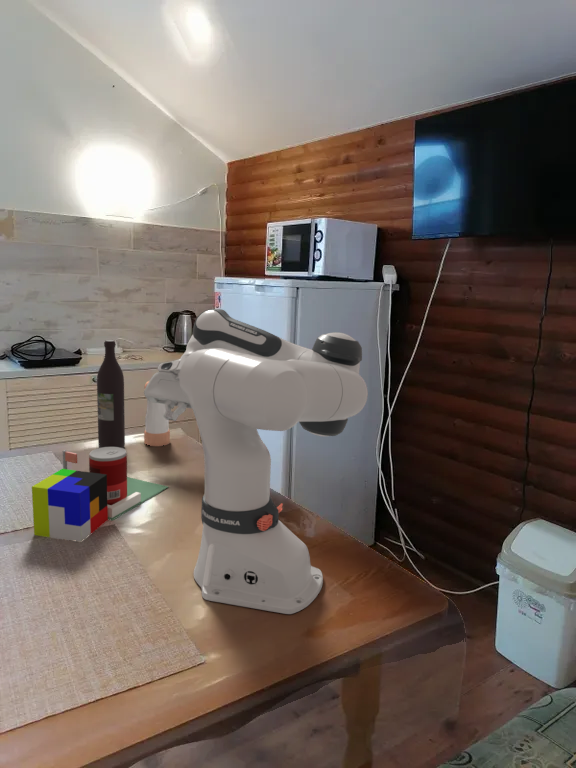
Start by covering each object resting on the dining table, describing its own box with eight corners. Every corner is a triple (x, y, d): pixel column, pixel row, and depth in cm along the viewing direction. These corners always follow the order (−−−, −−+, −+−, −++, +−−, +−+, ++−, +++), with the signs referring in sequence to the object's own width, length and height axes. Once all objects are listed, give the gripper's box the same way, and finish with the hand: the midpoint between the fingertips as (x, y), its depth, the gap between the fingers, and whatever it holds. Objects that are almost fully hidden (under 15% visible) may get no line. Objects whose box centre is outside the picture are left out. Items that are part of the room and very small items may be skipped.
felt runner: (168, 487, 140) (168, 486, 140) (111, 520, 122) (111, 519, 122) (120, 476, 145) (120, 475, 145) (59, 506, 127) (59, 505, 127)
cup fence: (140, 501, 131) (140, 449, 128) (112, 517, 122) (111, 462, 120) (92, 489, 136) (91, 439, 133) (62, 504, 127) (60, 451, 125)
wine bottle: (96, 444, 167) (93, 339, 160) (122, 442, 170) (120, 338, 164) (100, 452, 161) (98, 343, 154) (127, 449, 164) (125, 342, 157)
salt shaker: (146, 447, 167) (145, 380, 163) (142, 439, 173) (142, 375, 169) (172, 445, 169) (172, 379, 165) (167, 437, 176) (167, 374, 172)
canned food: (133, 495, 134) (133, 448, 131) (115, 509, 126) (114, 460, 124) (103, 490, 136) (102, 444, 133) (83, 504, 128) (81, 455, 126)
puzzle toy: (81, 542, 112) (79, 493, 110) (34, 535, 114) (31, 486, 112) (107, 520, 122) (106, 474, 120) (63, 514, 124) (62, 468, 122)
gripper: (230, 385, 154) (209, 431, 147) (164, 376, 162) (142, 419, 155) (221, 371, 149) (199, 418, 142) (154, 363, 157) (131, 406, 150)
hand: (169, 419), depth 149 cm, fingers closed
